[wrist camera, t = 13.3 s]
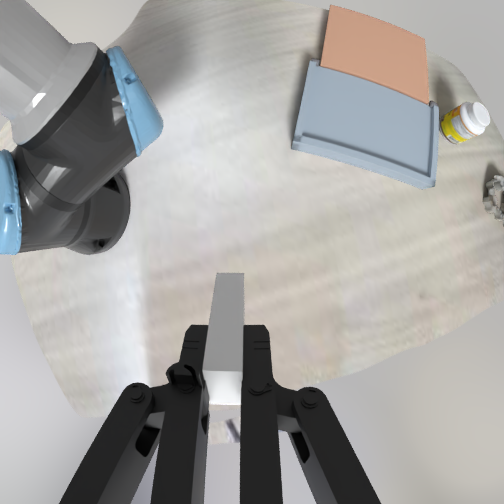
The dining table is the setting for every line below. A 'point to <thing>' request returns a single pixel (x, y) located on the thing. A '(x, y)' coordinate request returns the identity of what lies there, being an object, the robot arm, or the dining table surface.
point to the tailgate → (376, 52)
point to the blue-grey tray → (368, 126)
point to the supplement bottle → (464, 122)
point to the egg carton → (494, 198)
